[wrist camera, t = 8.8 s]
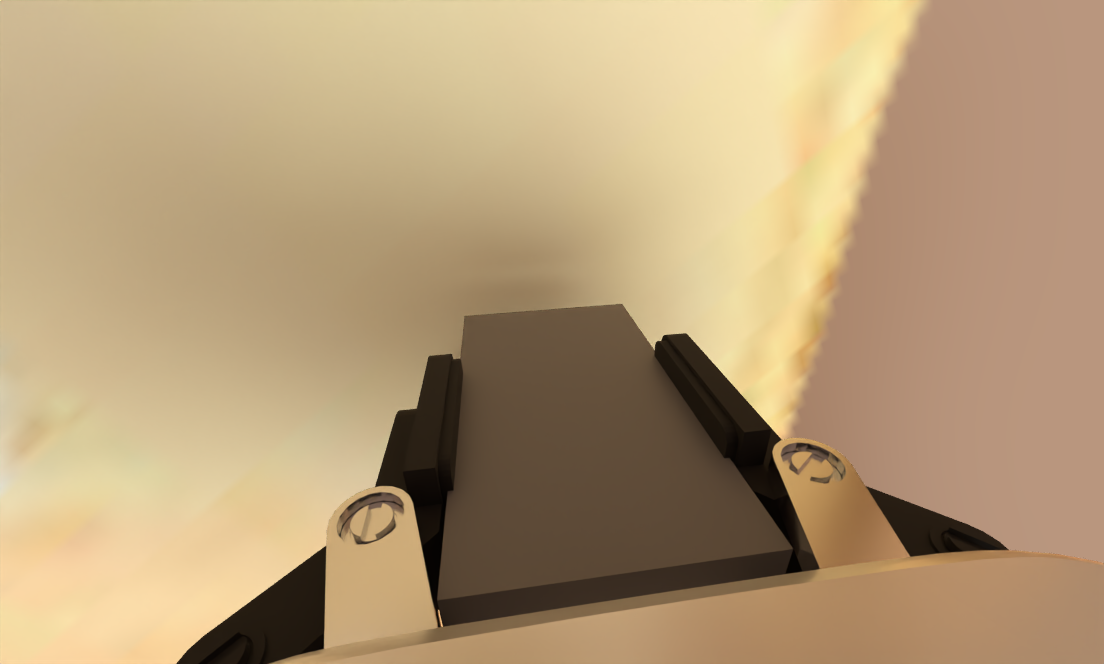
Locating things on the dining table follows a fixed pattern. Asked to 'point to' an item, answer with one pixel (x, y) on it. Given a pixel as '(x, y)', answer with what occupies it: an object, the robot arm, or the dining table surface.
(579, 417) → the dark gray tile
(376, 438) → the dining table surface
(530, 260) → the dining table surface
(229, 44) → the dining table surface
